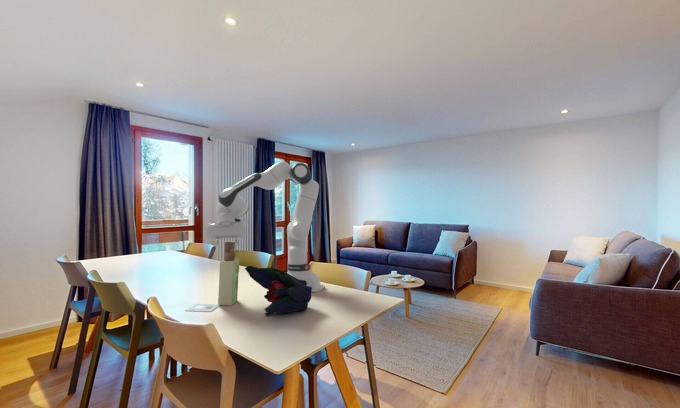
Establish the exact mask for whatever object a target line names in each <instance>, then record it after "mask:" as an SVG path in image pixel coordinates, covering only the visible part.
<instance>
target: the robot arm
mask: <svg viewBox="0 0 680 408" xmlns="http://www.w3.org/2000/svg"><path fill="white" fill-rule="evenodd" d="M287 180H290V181H291V182H293V183H294V184H297V185H299V186H300V188H299V192H298V195H297V198H296V202H295V205H294V209H293V214H292V218H291V221H290V222H289V223H288V225H287V226H286V227H287V228H286V234H287V235H286V236H287V264H286V273H288V274H290V275H291V276H293V277H295V278H297V279H299V280H305V281H306V282H307V285H306V286H310V287H312V292H311V293H318V292H320V291H322V290H323V289H324V288H325V285H324V284H323V283H321V279H320V276H319V275H318V274H317V273H315V271H313V270H312V269H311V266H312V264H311V263H309V262H308V247H307V237H308V236H309V235H310V234H309V233H310V229H311V225H312V217H313V214H314V210H315V207H316V203H317V200H318V196H319V190H320V185H319V183H318V181H315V180H314V179H312V174H311V170H310V168H309V166H308V165H307V164H306V163H303V162H297V163H295V164H294V165H293V166H292V165H290V164H289V163H288V162H287V161H285V160H281V161H278V162H276V163H275V164H273V165H272V166H270V167H269V168H268V169H266V170H265V171H263V172H255V173H253V174H250V175H249V176H247V177H245V178H243V179H242V180H240V181H238V182H237V183H235V184H233V185H231V186H229V187H227V188H225V189H223V190H221V191H220V193H219V195H218V202H217V205H216V209H215V210H216V212H215V213H216V214H215V215H216V217H217V218H216V223H207V224H205V226H204V230H205V238H206V240H212V241H213V242H214V243H215V246H219V244H220V241H219V239H220V240H223V239H224V240H225V239H235V240H234V241H235V245H238V244H239V241H240V239H244V238H246V237H247V230H246V226H245V224H244V223H243V221H244V220H243V219H241V218H240V217H243V216H244V215H246V214H247V213H248V211H249V207H250V205H249V202H247V200H245V199H244V198H243V197H242V196H241V195H240V194H242V193H244V192H245V191H247V190H248V189H250V188H251V187H259V188H261V189H264V190H267V191H269V190H270V191H271V190H274V189H277V187H279V186H280V185H281V184H282V183H284V182H285V181H287Z"/></svg>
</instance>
